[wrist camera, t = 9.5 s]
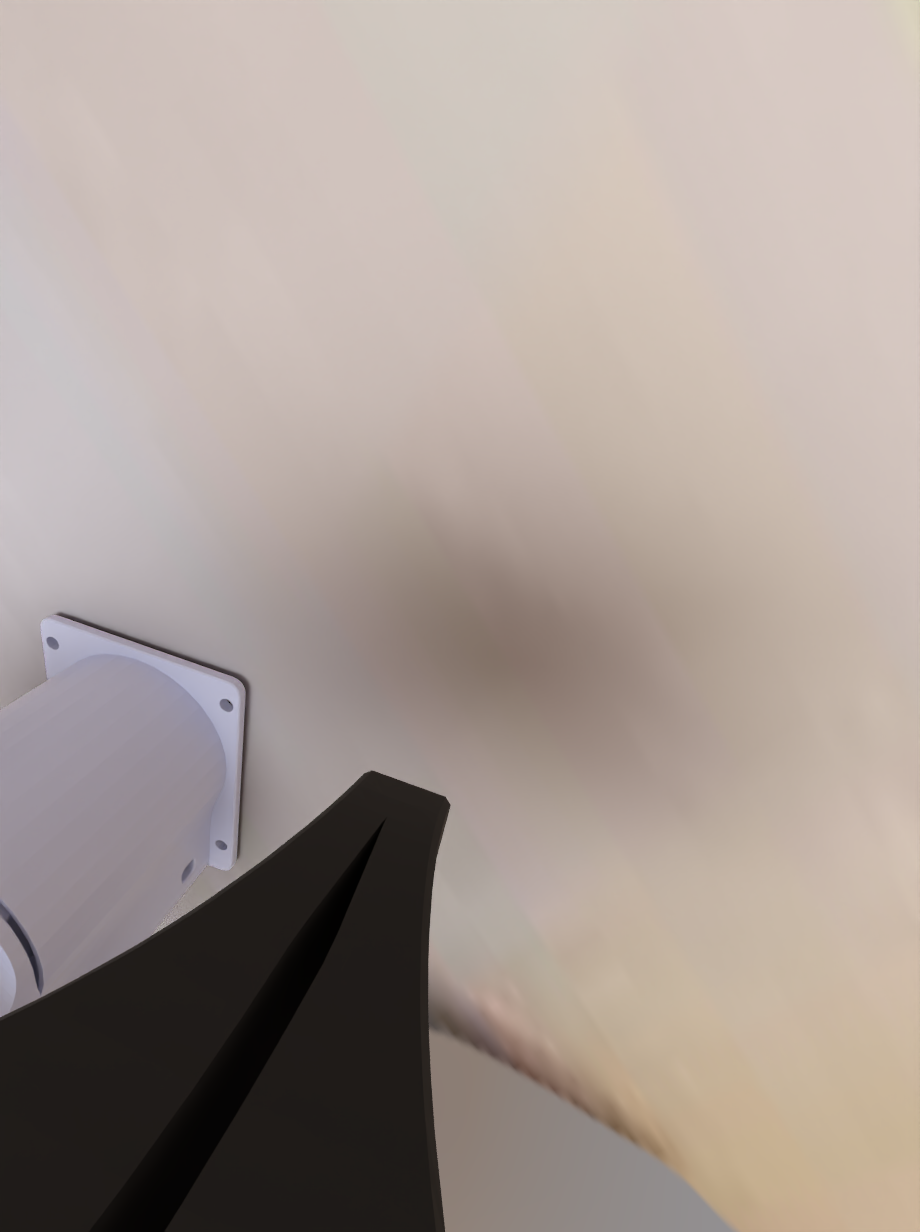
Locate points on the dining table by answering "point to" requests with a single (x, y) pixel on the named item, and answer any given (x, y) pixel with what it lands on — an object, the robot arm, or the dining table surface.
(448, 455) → the dining table surface
